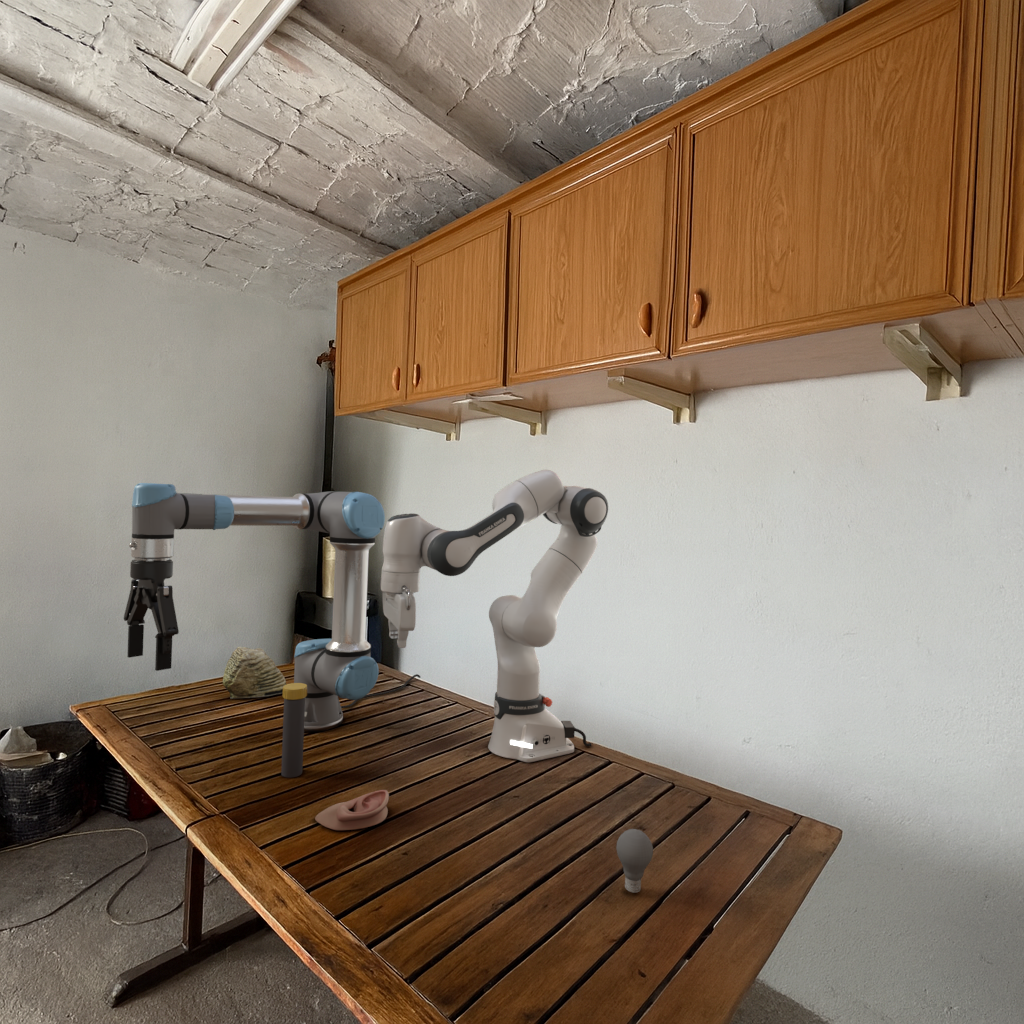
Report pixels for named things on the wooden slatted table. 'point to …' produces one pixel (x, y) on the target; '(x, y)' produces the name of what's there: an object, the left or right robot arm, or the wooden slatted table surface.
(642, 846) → the light bulb
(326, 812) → the anatomical model
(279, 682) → the fossil
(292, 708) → the dark grey slim bottle
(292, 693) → the lid
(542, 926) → the wooden slatted table surface
